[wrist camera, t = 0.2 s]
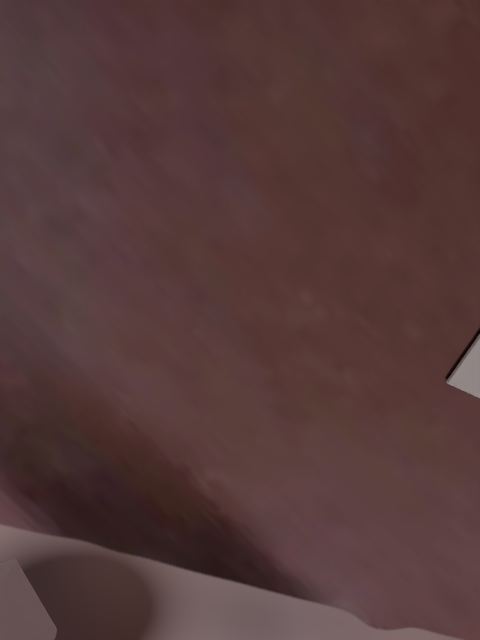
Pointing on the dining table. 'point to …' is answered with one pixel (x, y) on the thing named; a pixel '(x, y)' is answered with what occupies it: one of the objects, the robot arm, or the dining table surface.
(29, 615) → the robot arm
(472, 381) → the laptop
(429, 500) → the dining table surface
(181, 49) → the dining table surface
